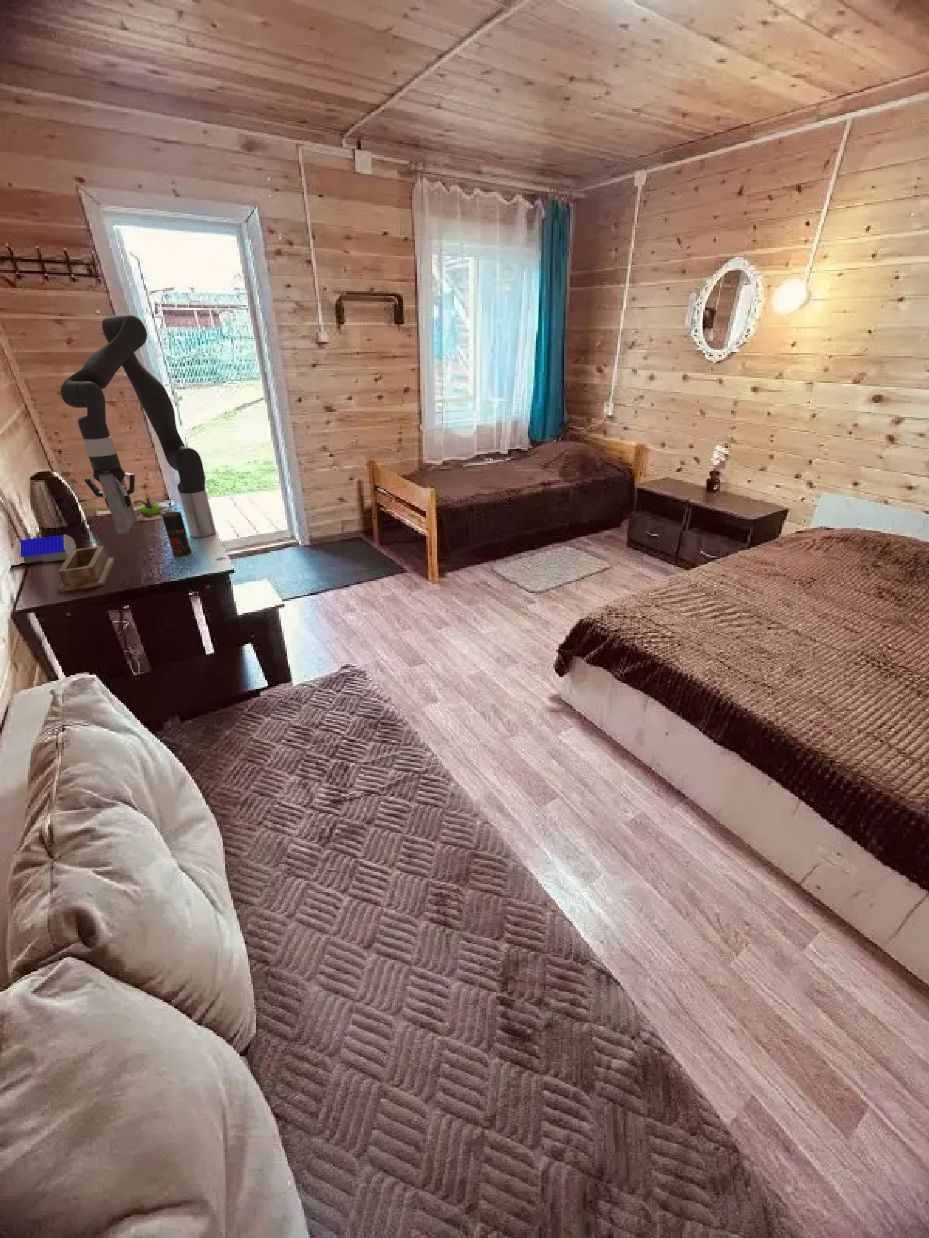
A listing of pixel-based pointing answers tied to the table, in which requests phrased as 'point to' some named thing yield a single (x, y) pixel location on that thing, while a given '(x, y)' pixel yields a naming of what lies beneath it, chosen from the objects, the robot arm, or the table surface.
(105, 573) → the walnut open box
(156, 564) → the table surface
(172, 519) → the deodorant
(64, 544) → the blue slatted box
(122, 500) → the hip flask
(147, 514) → the plant
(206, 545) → the table surface
